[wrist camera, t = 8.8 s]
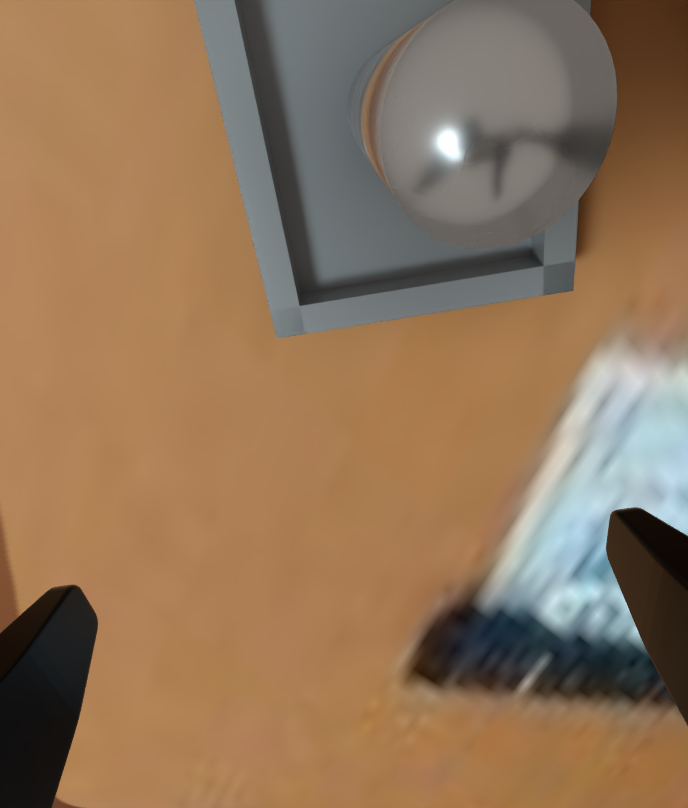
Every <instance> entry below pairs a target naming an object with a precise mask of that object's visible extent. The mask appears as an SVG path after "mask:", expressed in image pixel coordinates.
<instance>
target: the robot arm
mask: <svg viewBox="0 0 688 808" xmlns="http://www.w3.org/2000/svg"><path fill="white" fill-rule="evenodd" d="M606 551H607V556H608V560H609V562H610V565H611V567H612V569H613V572H614V574H615V577H616V579H617V581H618V584H619V586H620V589H621V591H622V593H623V596H624V598H625V601H626V603H627V605H628V608H629V610H630V613H631V615H632V617H633V620H634V622H635V625H636V627H637V629H638V632H639V634H640V636H641V639H642V641H643V643H644V645H645V648H646V650H647V652H648V654H649V656H650V658H651V659H652V661H653V663H654V665H655V667H656V669H657V671H658V672H659V674H660V676H661V678H662V680H663V682H664V683H665V685H666V687H667V689H668V691H669V693H670V694H671V696H672V698H673V700H674V702H675V703H676V705H677V707H678V709H679V711H680V713H681V714H682V716H683V718H684V720H685V722H686V724H687V725H688V536H687V535H685V534H684V533H682V532H680V531H678V530H677V529H675V528H673V527H672V526H670V525H668V524H667V523H665V522H663V521H662V520H660V519H658V518H657V517H655V516H653V515H652V514H650V513H648V512H647V511H645V510H643V509H641V508H636V507H634V508H627V509H619V510H615V511H613V512H612V513H611V515H610V520H609V528H608V536H607V543H606ZM97 628H98V620H97V616H96V613H95V611H94V610H93V608H92V606H91V605H90V603H89V601H88V600H87V598H86V596H85V595H84V593H83V592H82V590H81V589H80V587H78V586H76V585H66V586H59V587H54V588H51V589H50V590H48V591H47V592H46V593H45V594H44V595H42V596H41V597H40V598H39V599H38V600H37V601H36V602H35V603H33V604H32V605H31V606H30V607H29V608H28V609H27V610H26V611H24V612H23V613H22V614H21V615H20V616H19V617H18V618H17V619H16V620H14V621H13V622H12V623H11V624H10V625H9V626H8V627H7V628H6V629H4V630H3V631H2V632H1V633H0V808H52V805H53V802H54V799H55V796H56V792H57V789H58V786H59V783H60V779H61V776H62V773H63V770H64V766H65V763H66V760H67V757H68V753H69V750H70V747H71V744H72V740H73V737H74V734H75V730H76V727H77V723H78V720H79V716H80V711H81V707H82V703H83V698H84V693H85V688H86V683H87V678H88V673H89V668H90V663H91V659H92V654H93V649H94V644H95V639H96V634H97Z"/></svg>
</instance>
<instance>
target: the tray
mask: <svg viewBox="0 0 688 808" xmlns="http://www.w3.org/2000/svg"><path fill="white" fill-rule="evenodd" d="M452 1H454V0H194V2H195V6H196V10H197V14H198V18H199V23H200V27H201V31H202V35H203V39H204V43H205V47H206V51H207V55H208V59H209V63H210V68H211V72H212V76H213V80H214V84H215V88H216V92H217V96H218V100H219V104H220V108H221V113H222V117H223V121H224V125H225V129H226V133H227V137H228V141H229V145H230V149H231V153H232V158H233V162H234V166H235V170H236V174H237V178H238V182H239V186H240V190H241V194H242V198H243V203H244V207H245V211H246V215H247V219H248V223H249V227H250V231H251V235H252V239H253V243H254V248H255V252H256V256H257V260H258V264H259V268H260V272H261V276H262V280H263V284H264V288H265V293H266V297H267V301H268V305H269V309H270V313H271V317H272V321H273V325H274V329H275V334H276V338H282V337H288V336H295V335H301V334H307V333H313V332H320V331H326V330H332V329H338V328H344V327H351V326H357V325H363V324H369V323H375V322H382V321H388V320H394V319H400V318H406V317H413V316H419V315H425V314H431V313H437V312H444V311H450V310H456V309H462V308H468V307H475V306H481V305H487V304H493V303H499V302H506V301H512V300H518V299H524V298H531V297H537V296H543V295H549V294H555V293H562V292H568V291H573V287H574V271H575V254H576V238H577V222H578V205H579V200H578V201H577V202H576V203H575V204H574V206H573V207H572V208H571V209H570V210H569V211H568V212H567V213H566V214H565V215H563V216H562V217H561V218H560V219H559V220H557V221H556V222H555V223H554V224H552V225H551V226H549V227H548V228H546V229H545V230H543V231H542V232H540V233H538V234H536V235H534V236H532V237H531V238H529V239H526V240H524V241H521V242H518V243H516V244H513V245H508V246H504V247H500V248H492V249H470V248H464V247H458V246H455V245H452V244H448V243H446V242H443V241H441V240H439V239H437V238H435V237H433V236H432V235H430V234H429V233H427V232H426V231H424V230H423V229H421V228H420V227H419V226H418V225H417V224H416V223H415V222H414V221H412V219H411V218H410V217H409V216H408V215H407V214H406V212H405V211H404V210H403V209H402V207H401V206H400V204H399V203H398V202H397V200H396V199H395V197H394V196H393V195H392V193H391V192H390V190H389V189H388V187H387V186H386V185H385V183H384V182H383V180H382V179H381V178H380V176H379V175H378V173H377V172H376V170H375V169H374V168H373V166H372V165H371V163H370V162H369V161H368V159H367V158H366V156H365V155H364V153H363V152H362V151H361V149H360V148H359V146H358V145H357V143H356V142H355V140H354V138H353V135H352V133H351V130H350V127H349V122H348V114H347V104H348V96H349V92H350V88H351V85H352V83H353V80H354V78H355V76H356V75H357V73H358V71H359V70H360V68H361V67H362V66H363V64H364V63H365V62H366V61H367V60H368V59H369V58H370V57H372V56H373V55H374V54H376V53H377V52H378V51H380V50H381V49H383V48H384V47H386V46H387V45H389V44H390V43H392V42H393V41H395V40H396V39H398V38H399V37H401V36H402V35H403V34H405V33H406V32H408V31H409V30H411V29H412V28H414V27H415V26H417V25H418V24H420V23H421V22H423V21H424V20H425V19H427V18H428V17H430V16H431V15H433V14H434V13H436V12H437V11H439V10H440V9H442V8H443V7H445V6H446V5H448V4H449V3H451V2H452ZM574 1H575V2H576V3H578V4H579V5H580V6H581V7H582V8H583V9H584V10H585V11H586V12H587V13H588V14H589V15H590V9H591V0H574Z"/></svg>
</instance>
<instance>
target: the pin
mask: <svg viewBox="0 0 688 808" xmlns="http://www.w3.org/2000/svg"><path fill="white" fill-rule="evenodd" d="M616 111H617V82H616V72H615V68H614V64H613V59H612V55H611V53H610V50H609V48H608V45H607V42H606V40H605V38H604V36H603V34H602V33H601V31H600V29H599V27H598V26H597V24H596V23H595V22H594V20H593V19H592V18H591V17H590V15H589V14H588V13H587V12H586V11H585V10H584V9H583V8H582V7H581V6H580V5H579V4H578V3H576V2H575V1H574V0H454V1H452V2H451V3H449V4H448V5H446V6H445V7H443V8H442V9H440V10H439V11H437V12H436V13H434V14H433V15H431V16H430V17H428V18H427V19H425V20H424V21H423V22H421V23H420V24H418V25H417V26H415V27H414V28H412V29H411V30H409V31H408V32H406V33H405V34H403V35H402V36H401V37H399V38H398V39H396V40H395V41H393V42H392V43H390V44H389V45H387V46H386V47H384V48H383V49H381V50H380V51H378V52H377V53H376V54H374V55H373V56H372V57H370V58H369V59H368V60H367V61H366V62H365V63H364V64H363V66H362V67H361V68H360V70H359V71H358V73H357V75H356V76H355V78H354V80H353V83H352V85H351V88H350V92H349V96H348V104H347V114H348V122H349V127H350V130H351V133H352V135H353V138H354V140H355V142H356V143H357V145H358V146H359V148H360V149H361V151H362V152H363V153H364V155H365V156H366V158H367V159H368V161H369V162H370V163H371V165H372V166H373V168H374V169H375V170H376V172H377V173H378V175H379V176H380V178H381V179H382V180H383V182H384V183H385V185H386V186H387V187H388V189H389V190H390V192H391V193H392V195H393V196H394V197H395V199H396V200H397V202H398V203H399V204H400V206H401V207H402V209H403V210H404V211H405V212H406V214H407V215H408V216H409V217H410V218H411V219H412V221H414V222H415V223H416V224H417V225H418V226H419V227H420V228H421V229H423V230H424V231H426V232H427V233H429V234H430V235H432V236H433V237H435V238H437V239H439V240H441V241H443V242H446V243H448V244H452V245H455V246H458V247H464V248H470V249H492V248H500V247H504V246H508V245H513V244H516V243H518V242H521V241H524V240H526V239H529V238H531V237H532V236H534V235H536V234H538V233H540V232H542V231H543V230H545V229H546V228H548V227H549V226H551V225H552V224H554V223H555V222H556V221H557V220H559V219H560V218H561V217H562V216H563V215H565V214H566V213H567V212H568V211H569V210H570V209H571V208H572V207H573V206H574V204H575V203H576V202H577V201H578V200H579V199H580V197H581V196H582V195H583V194H584V192H585V191H586V190H587V188H588V187H589V185H590V184H591V182H592V181H593V179H594V177H595V176H596V174H597V172H598V170H599V168H600V166H601V164H602V162H603V160H604V158H605V155H606V152H607V150H608V147H609V144H610V141H611V137H612V133H613V129H614V125H615V118H616Z"/></svg>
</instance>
